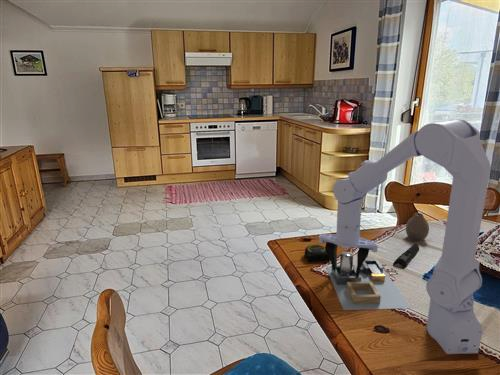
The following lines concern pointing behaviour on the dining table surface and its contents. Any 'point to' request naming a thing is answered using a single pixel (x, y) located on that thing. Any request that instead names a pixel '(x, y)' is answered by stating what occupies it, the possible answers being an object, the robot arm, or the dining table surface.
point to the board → (385, 288)
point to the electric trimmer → (406, 256)
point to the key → (375, 273)
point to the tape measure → (316, 254)
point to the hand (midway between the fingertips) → (346, 270)
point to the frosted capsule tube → (346, 264)
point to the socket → (355, 278)
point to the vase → (417, 227)
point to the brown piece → (363, 299)
